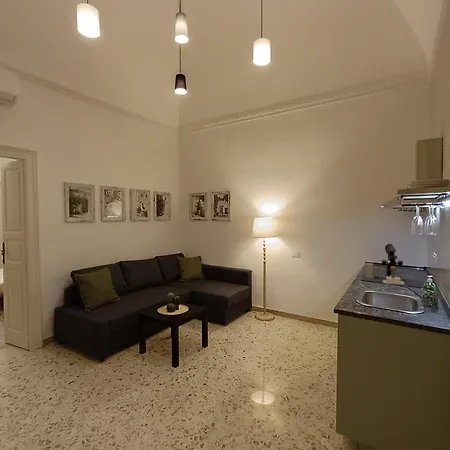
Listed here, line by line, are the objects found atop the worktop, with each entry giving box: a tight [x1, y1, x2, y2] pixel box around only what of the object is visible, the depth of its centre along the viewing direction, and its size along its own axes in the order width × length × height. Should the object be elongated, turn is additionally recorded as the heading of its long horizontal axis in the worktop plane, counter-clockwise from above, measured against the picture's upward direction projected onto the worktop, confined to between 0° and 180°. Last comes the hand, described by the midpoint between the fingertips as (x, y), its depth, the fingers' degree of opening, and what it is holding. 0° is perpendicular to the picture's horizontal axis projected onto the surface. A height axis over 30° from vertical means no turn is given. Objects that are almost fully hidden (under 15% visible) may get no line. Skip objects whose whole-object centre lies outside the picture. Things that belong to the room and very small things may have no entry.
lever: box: [391, 267, 396, 277], centre depth 291 cm, size 2×4×10 cm, turn 64°
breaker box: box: [382, 275, 405, 286], centre depth 289 cm, size 10×18×7 cm, turn 64°
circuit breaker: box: [363, 262, 381, 279], centre depth 313 cm, size 8×14×15 cm, turn 78°
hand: (392, 269), depth 296 cm, fingers closed
